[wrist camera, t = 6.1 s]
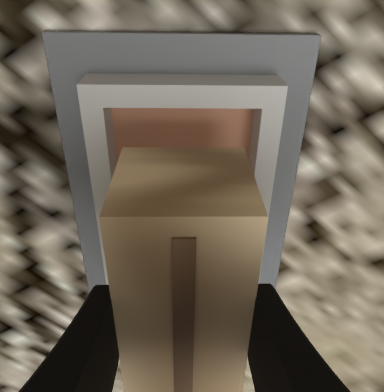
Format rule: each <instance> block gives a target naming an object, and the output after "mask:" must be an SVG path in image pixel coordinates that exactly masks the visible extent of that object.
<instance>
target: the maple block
mask: <svg viewBox="0 0 384 392" xmlns="http://www.w3.org/2000/svg"><path fill="white" fill-rule="evenodd" d="M99 220H100V227H101V234H102V241H103V248H104V255H105V262H106V269H107V276H108V283H109V290H110V297H111V301H112V308H113V315H114V322H115V329H116V336H117V343H118V350H119V360H120V367H121V374H122V380H123V387H124V392H242V390H243V384H244V377H245V370H246V363H247V357H248V346H249V340H250V333H251V326H252V319H253V312H254V306H255V299H256V296H257V289H258V282H259V276H260V269H261V262H262V255H263V249H264V242H265V235H266V228H267V222H268V214H267V212H266V209H265V206H264V203H263V200H262V197H261V195H260V192H259V189H258V186H257V183H256V180H255V177H254V175H253V172H252V169H251V166H250V163H249V160H248V158H247V155H246V152H245V149H244V148H178V147H122V150H121V153H120V156H119V159H118V162H117V165H116V168H115V171H114V174H113V177H112V180H111V183H110V186H109V189H108V192H107V195H106V198H105V201H104V204H103V207H102V210H101V212H100V215H99Z"/></svg>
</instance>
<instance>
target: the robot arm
mask: <svg viewBox="0 0 384 392" xmlns="http://www.w3.org/2000/svg"><path fill="white" fill-rule="evenodd" d="M118 361H119V350H118V343H117V336H116V329H115V322H114V315H113V308H112V301H111V297H110V290H109V285H95V286H94V287H93V288H92V290H91V291H90V293H89V295H88V297H87V298H86V300H85V302H84V303H83V305H82V306H81V308H80V310H79V311H78V313H77V314H76V316H75V317H74V319H73V320H72V322H71V323H70V325H69V326H68V328H67V329H66V331H65V332H64V334H63V335H62V336H61V338H60V339H59V341H58V342H57V344H56V345H55V346H54V348H53V349H52V350H51V352H50V353H49V354H48V356H47V357H46V358H45V359H44V361H43V362H42V363H41V365H40V366H39V367H38V368H37V370H36V371H35V372H34V374H33V375H32V376H31V377H30V379H29V380H28V381H27V382H26V383H25V385H24V386H23V387H22V388H21V389H20V391H19V392H112V389H113V385H114V380H115V376H116V371H117V366H118ZM248 361H249V366H250V370H251V374H252V379H253V383H254V388H255V392H350V391H349V389H348V388H347V387H346V386H345V385H344V384H343V383H342V381H341V380H340V379H339V378H338V377H337V375H336V374H335V373H334V372H333V371H332V369H331V368H330V367H329V366H328V364H327V363H326V362H325V361H324V359H323V358H322V357H321V356H320V354H319V353H318V352H317V350H316V349H315V348H314V346H313V345H312V344H311V342H310V341H309V340H308V338H307V337H306V335H305V334H304V333H303V331H302V330H301V328H300V327H299V326H298V324H297V323H296V321H295V320H294V318H293V317H292V315H291V314H290V312H289V311H288V309H287V308H286V306H285V305H284V303H283V301H282V300H281V298H280V297H279V295H278V293H277V292H276V290H275V288H274V286H273V285H272V284H270V283H269V284H258V289H257V296H256V299H255V306H254V312H253V319H252V326H251V333H250V340H249V346H248Z"/></svg>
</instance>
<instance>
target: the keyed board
mask: <svg viewBox="0 0 384 392" xmlns="http://www.w3.org/2000/svg"><path fill="white" fill-rule="evenodd" d="M42 37H43V42H44V48H45V53H46V59H47V64H48V70H49V75H50V80H51V86H52V91H53V97H54V102H55V108H56V113H57V118H58V124H59V129H60V135H61V140H62V146H63V151H64V157H65V162H66V167H67V173H68V178H69V184H70V189H71V195H72V200H73V205H74V211H75V216H76V222H77V227H78V233H79V238H80V243H81V249H82V254H83V260H84V265H85V271H86V276H87V282H88V287H89V292H90V291H91V290H92V288H93V287H94V286H95V285H109V283H108V276H107V269H106V262H105V255H104V248H103V241H102V234H101V227H100V220H99V215H100V212H101V210H102V207H103V204H104V201H105V198H106V195H107V192H108V189H109V186H110V183H111V180H112V177H113V174H114V171H115V168H116V165H117V162H118V159H119V156H120V153H121V150H122V147H178V148H244V149H245V152H246V155H247V158H248V160H249V163H250V166H251V169H252V172H253V175H254V177H255V180H256V183H257V186H258V189H259V192H260V195H261V197H262V200H263V203H264V206H265V209H266V212H267V214H268V222H267V228H266V235H265V242H264V249H263V255H262V262H261V269H260V276H259V282H258V284H269V283H270V284H272V285H273V286H274V288H275V287H276V282H277V276H278V271H279V265H280V260H281V254H282V249H283V243H284V238H285V232H286V227H287V221H288V216H289V210H290V205H291V199H292V194H293V188H294V183H295V177H296V172H297V166H298V161H299V155H300V150H301V144H302V139H303V133H304V128H305V123H306V117H307V112H308V106H309V101H310V95H311V90H312V84H313V79H314V73H315V68H316V62H317V57H318V51H319V46H320V40H321V35H319V34H290V33H201V32H112V31H43V32H42Z"/></svg>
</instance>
